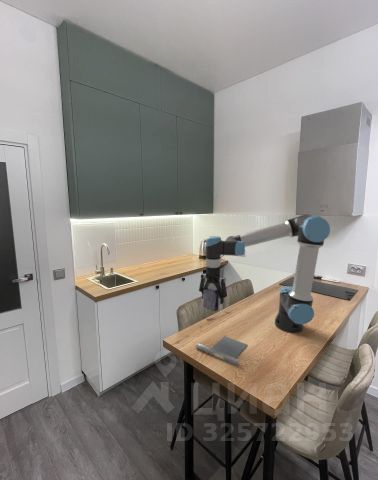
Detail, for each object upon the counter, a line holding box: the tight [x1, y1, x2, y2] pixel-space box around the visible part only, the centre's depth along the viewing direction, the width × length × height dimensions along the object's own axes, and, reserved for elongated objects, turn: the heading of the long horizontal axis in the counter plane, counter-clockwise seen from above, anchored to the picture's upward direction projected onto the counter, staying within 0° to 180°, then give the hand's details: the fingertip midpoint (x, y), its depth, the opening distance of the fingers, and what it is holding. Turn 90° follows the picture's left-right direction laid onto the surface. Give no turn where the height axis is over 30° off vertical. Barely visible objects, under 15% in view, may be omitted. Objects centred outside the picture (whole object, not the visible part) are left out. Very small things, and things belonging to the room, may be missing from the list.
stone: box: [202, 287, 220, 312], centre depth 133 cm, size 12×10×10 cm
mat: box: [210, 335, 248, 359], centre depth 122 cm, size 13×15×1 cm
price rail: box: [195, 342, 240, 367], centre depth 116 cm, size 22×2×2 cm, turn 54°
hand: (212, 306), depth 133 cm, fingers closed on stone, 9 cm apart
